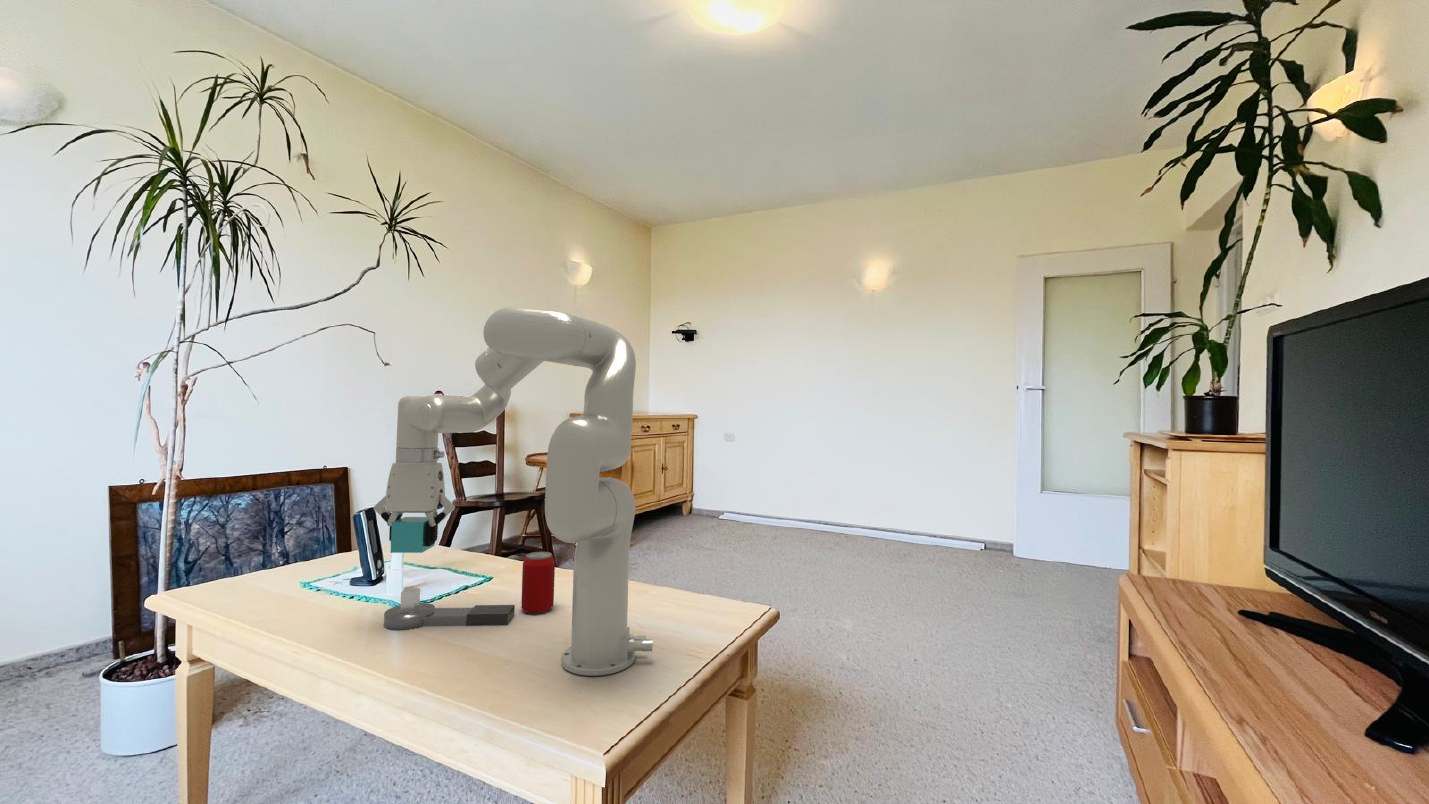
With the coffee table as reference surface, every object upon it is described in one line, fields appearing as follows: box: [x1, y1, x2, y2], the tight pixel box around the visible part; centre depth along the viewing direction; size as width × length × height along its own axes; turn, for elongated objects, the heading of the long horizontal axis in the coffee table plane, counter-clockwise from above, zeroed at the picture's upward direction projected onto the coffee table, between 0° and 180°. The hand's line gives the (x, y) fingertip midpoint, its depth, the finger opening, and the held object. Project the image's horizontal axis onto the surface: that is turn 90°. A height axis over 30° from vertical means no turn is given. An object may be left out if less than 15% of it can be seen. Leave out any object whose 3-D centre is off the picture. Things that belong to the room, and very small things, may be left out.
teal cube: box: [389, 516, 436, 554], centre depth 111 cm, size 6×6×6 cm
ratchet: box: [383, 587, 516, 632], centre depth 112 cm, size 24×9×6 cm, turn 96°
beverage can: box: [521, 551, 556, 615], centre depth 120 cm, size 7×7×12 cm
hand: (413, 543), depth 111 cm, fingers closed on teal cube, 6 cm apart
